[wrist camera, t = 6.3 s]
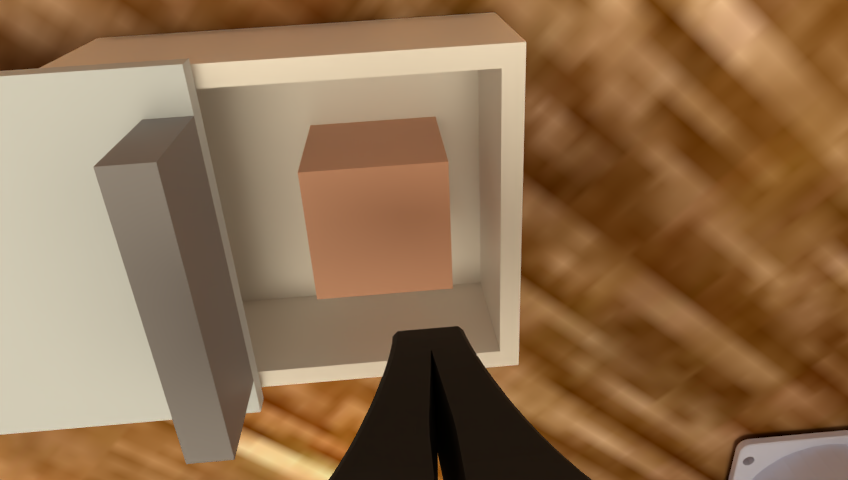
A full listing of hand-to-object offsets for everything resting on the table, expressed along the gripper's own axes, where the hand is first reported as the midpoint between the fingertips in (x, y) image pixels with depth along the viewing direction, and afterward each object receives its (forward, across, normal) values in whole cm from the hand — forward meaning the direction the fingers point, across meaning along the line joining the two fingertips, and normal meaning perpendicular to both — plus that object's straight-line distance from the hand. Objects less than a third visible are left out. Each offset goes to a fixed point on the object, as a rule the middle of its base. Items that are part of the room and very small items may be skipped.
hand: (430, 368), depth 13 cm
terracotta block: (+10, +1, 0) cm, 10 cm away
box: (+10, +3, 0) cm, 11 cm away
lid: (+5, +11, 0) cm, 12 cm away
